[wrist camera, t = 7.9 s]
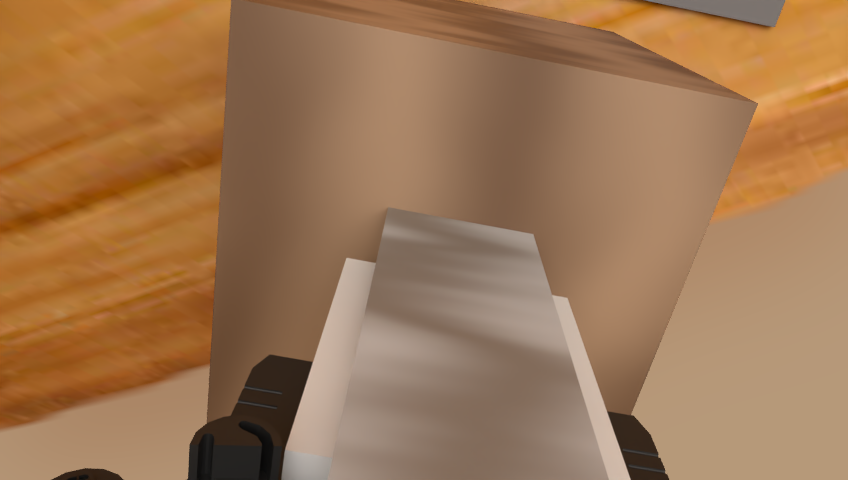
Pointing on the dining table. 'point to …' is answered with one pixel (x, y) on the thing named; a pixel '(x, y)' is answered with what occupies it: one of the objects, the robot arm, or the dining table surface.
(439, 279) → the wooden block with peg
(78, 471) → the robot arm
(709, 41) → the dining table surface
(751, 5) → the mat
